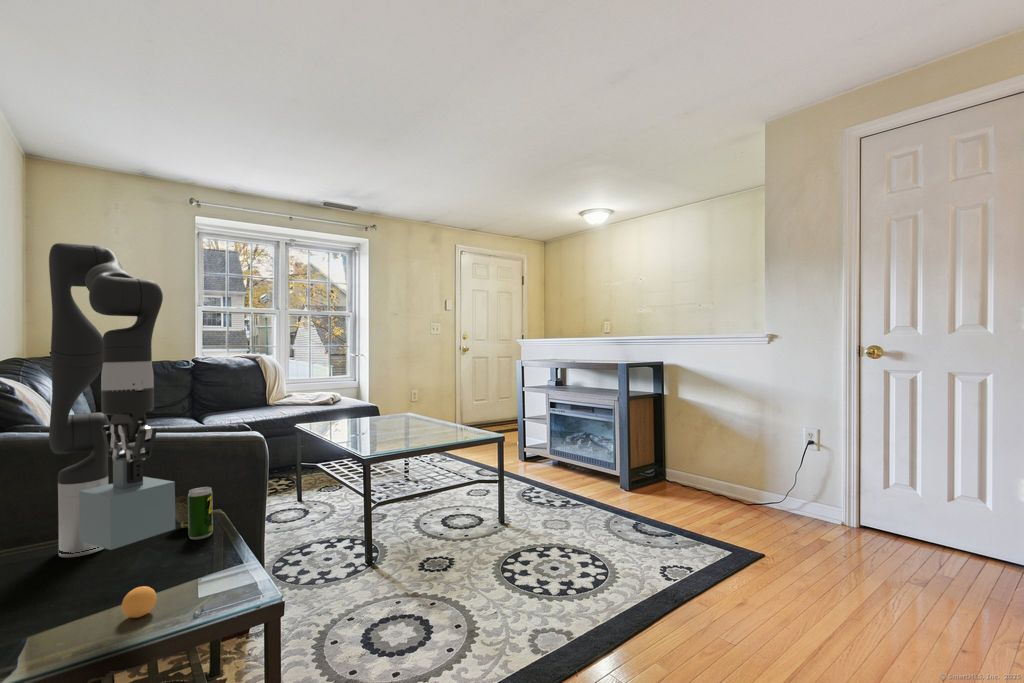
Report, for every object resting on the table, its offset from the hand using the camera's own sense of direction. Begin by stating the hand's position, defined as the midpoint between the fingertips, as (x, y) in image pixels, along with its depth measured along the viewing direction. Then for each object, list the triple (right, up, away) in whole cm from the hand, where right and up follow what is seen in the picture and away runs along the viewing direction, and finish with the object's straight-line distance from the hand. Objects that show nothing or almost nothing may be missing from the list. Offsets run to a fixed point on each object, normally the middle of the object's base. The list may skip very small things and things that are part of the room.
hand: (129, 480), depth 88 cm
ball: (+3, -22, -1) cm, 22 cm away
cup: (-19, -26, +44) cm, 55 cm away
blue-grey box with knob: (0, -10, 0) cm, 10 cm away
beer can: (-11, -25, +37) cm, 47 cm away
